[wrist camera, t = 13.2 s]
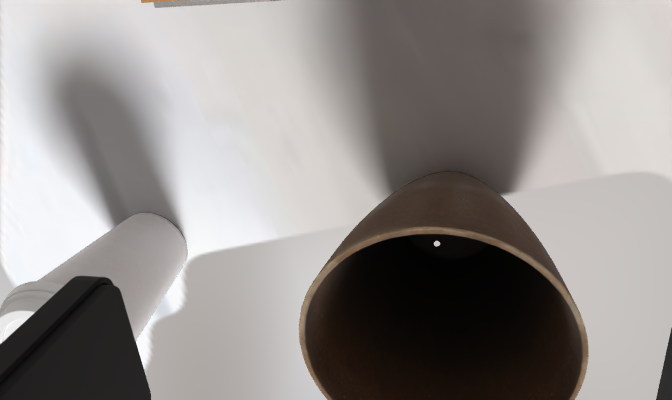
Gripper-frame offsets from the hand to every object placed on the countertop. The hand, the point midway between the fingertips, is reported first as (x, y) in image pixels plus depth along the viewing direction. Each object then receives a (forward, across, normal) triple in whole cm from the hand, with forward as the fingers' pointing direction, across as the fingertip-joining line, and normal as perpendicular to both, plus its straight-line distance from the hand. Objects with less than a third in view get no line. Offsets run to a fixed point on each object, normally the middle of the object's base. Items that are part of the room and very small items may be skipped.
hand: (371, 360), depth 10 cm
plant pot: (+32, 0, +14) cm, 35 cm away
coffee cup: (+32, +26, +18) cm, 45 cm away
